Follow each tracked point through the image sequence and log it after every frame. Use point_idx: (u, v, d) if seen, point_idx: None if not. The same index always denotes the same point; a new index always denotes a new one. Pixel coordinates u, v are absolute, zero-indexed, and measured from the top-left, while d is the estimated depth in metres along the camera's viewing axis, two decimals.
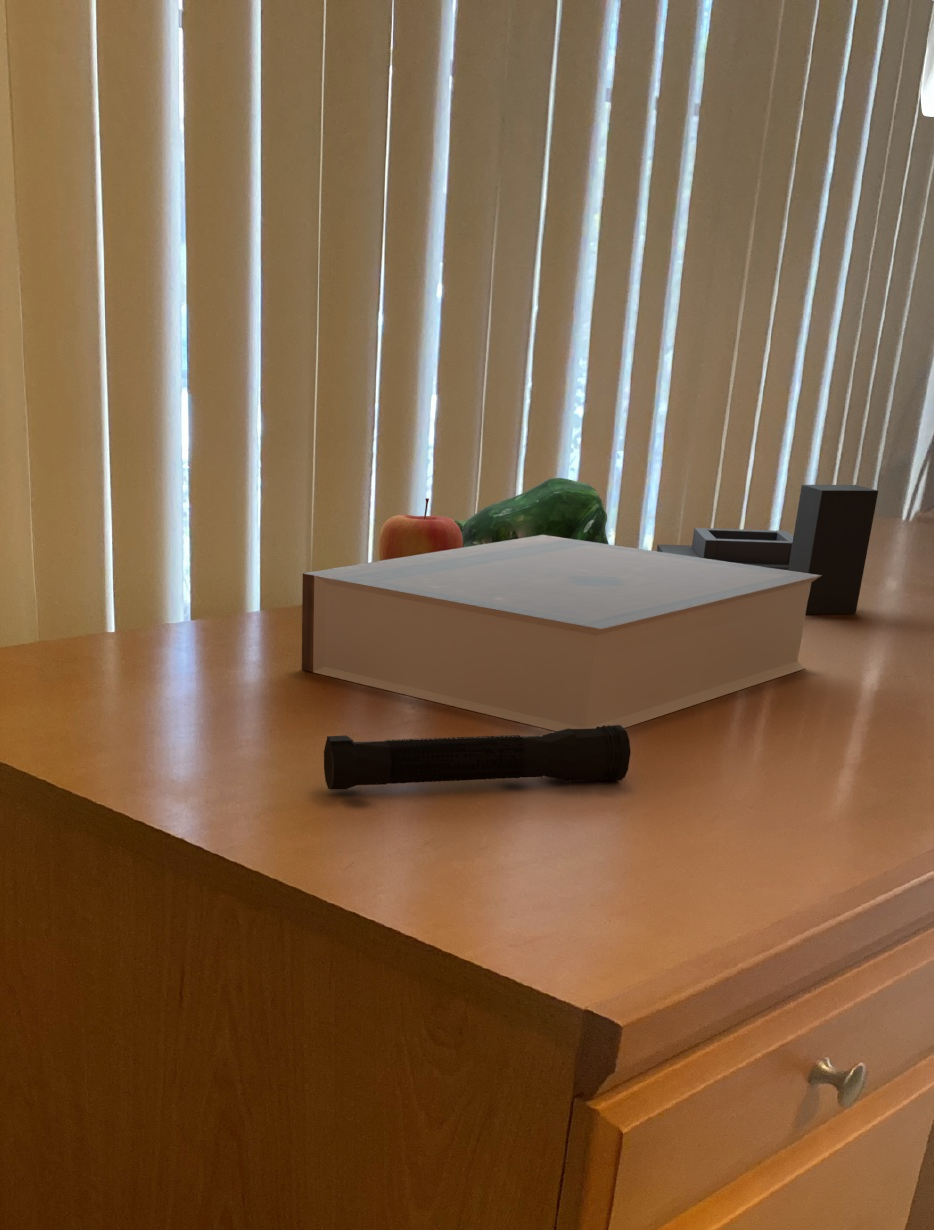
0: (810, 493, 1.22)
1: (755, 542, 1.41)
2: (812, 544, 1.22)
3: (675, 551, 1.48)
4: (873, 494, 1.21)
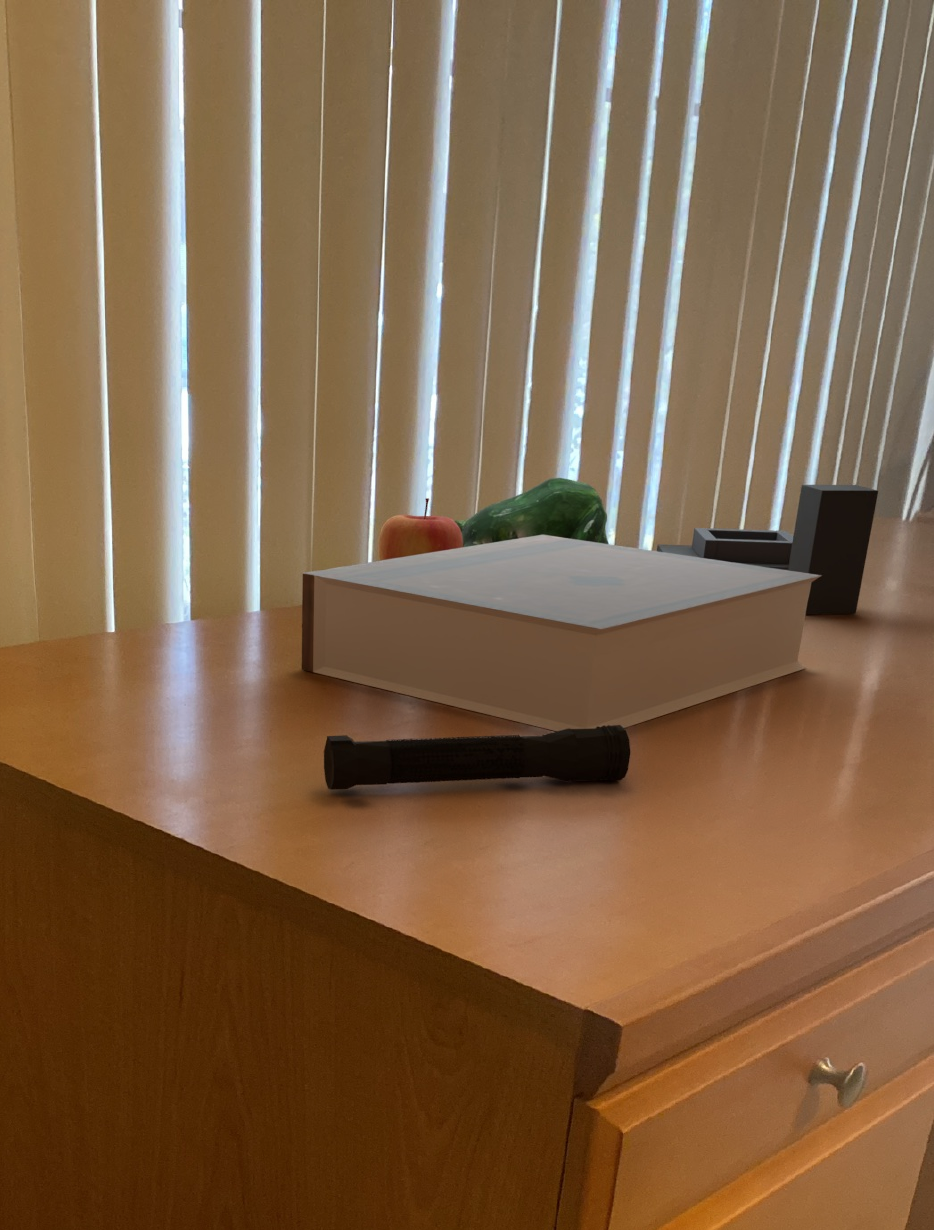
0: (810, 493, 1.22)
1: (755, 542, 1.41)
2: (812, 544, 1.22)
3: (675, 551, 1.48)
4: (873, 494, 1.21)
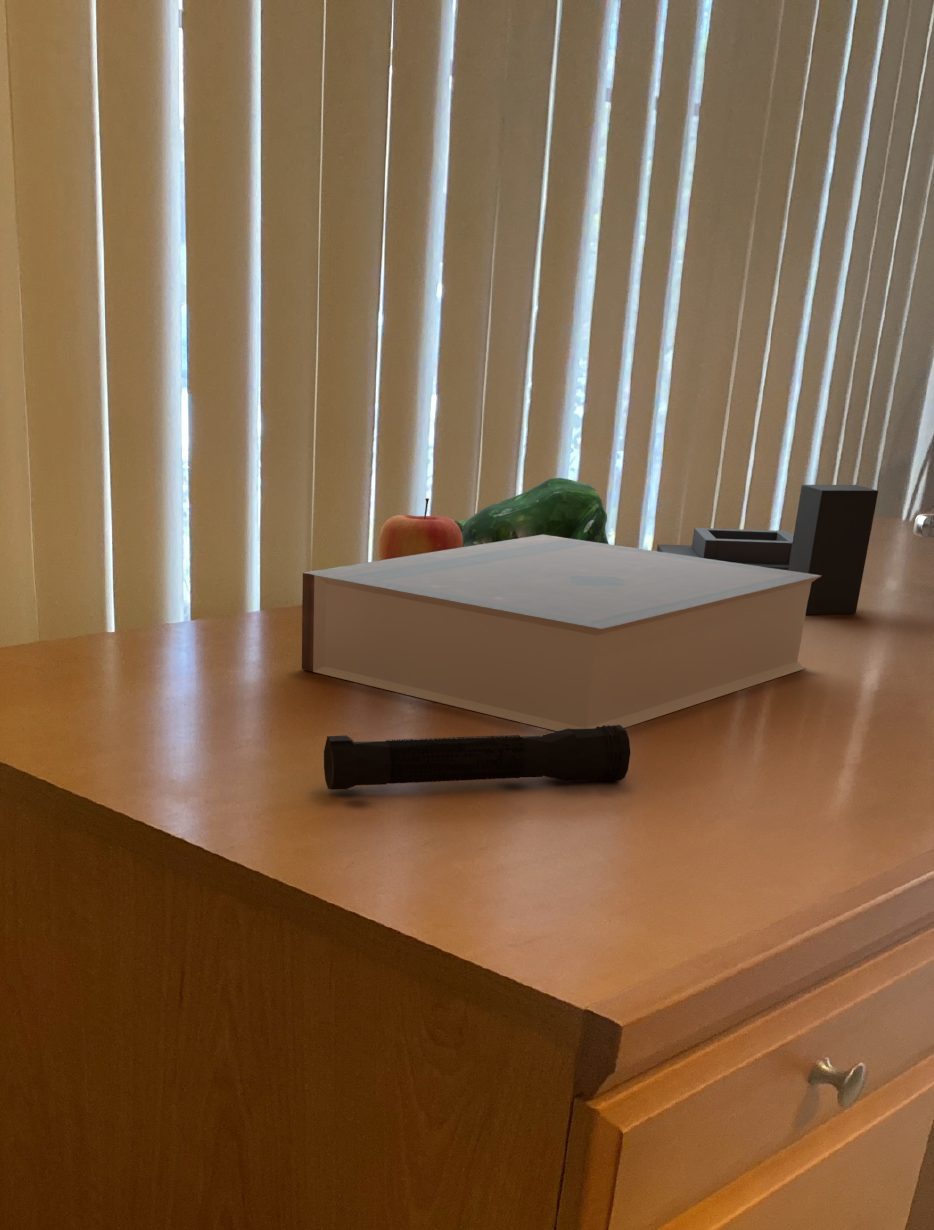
0: (810, 493, 1.22)
1: (755, 542, 1.41)
2: (812, 544, 1.22)
3: (675, 551, 1.48)
4: (873, 494, 1.21)
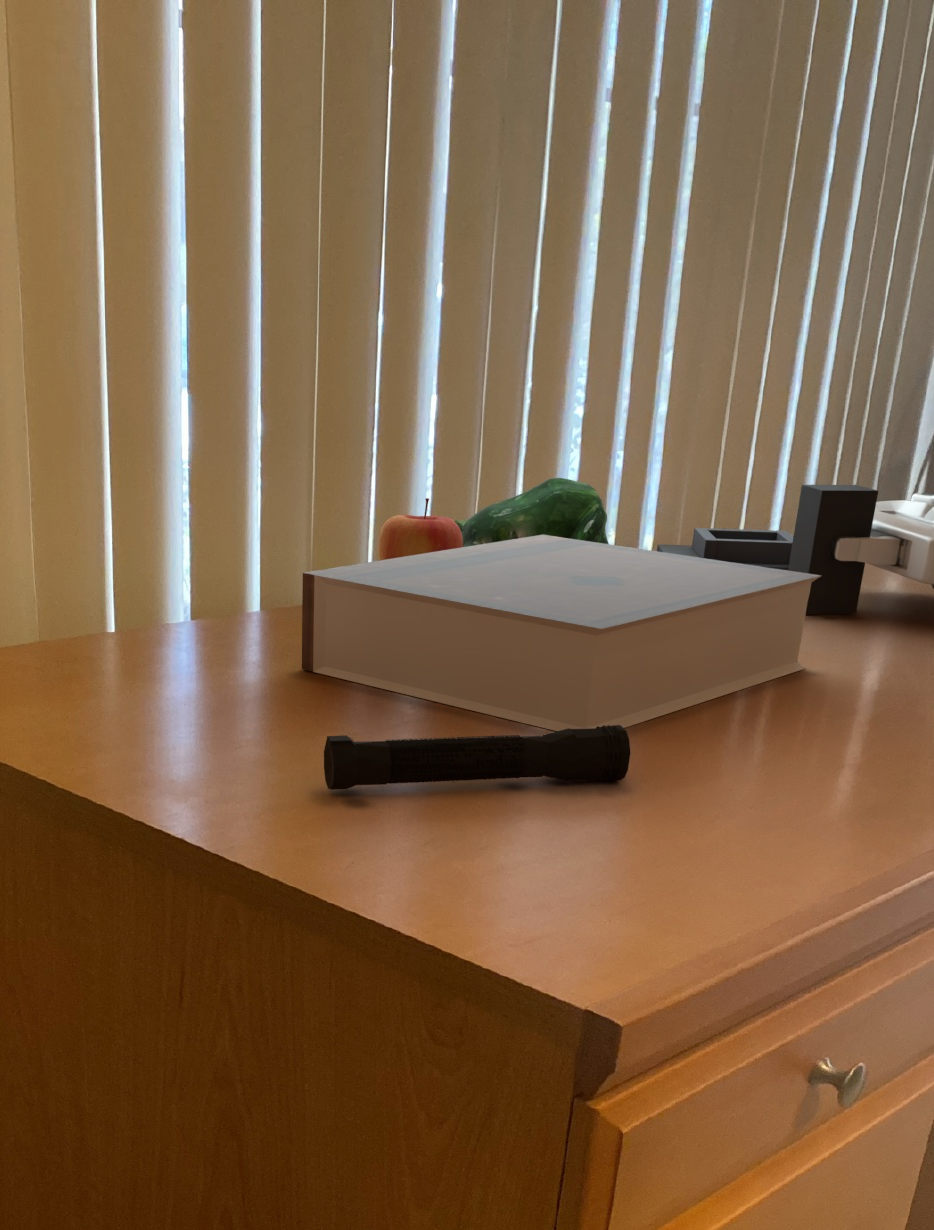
0: (810, 493, 1.22)
1: (755, 542, 1.41)
2: (812, 544, 1.22)
3: (675, 551, 1.48)
4: (873, 494, 1.21)
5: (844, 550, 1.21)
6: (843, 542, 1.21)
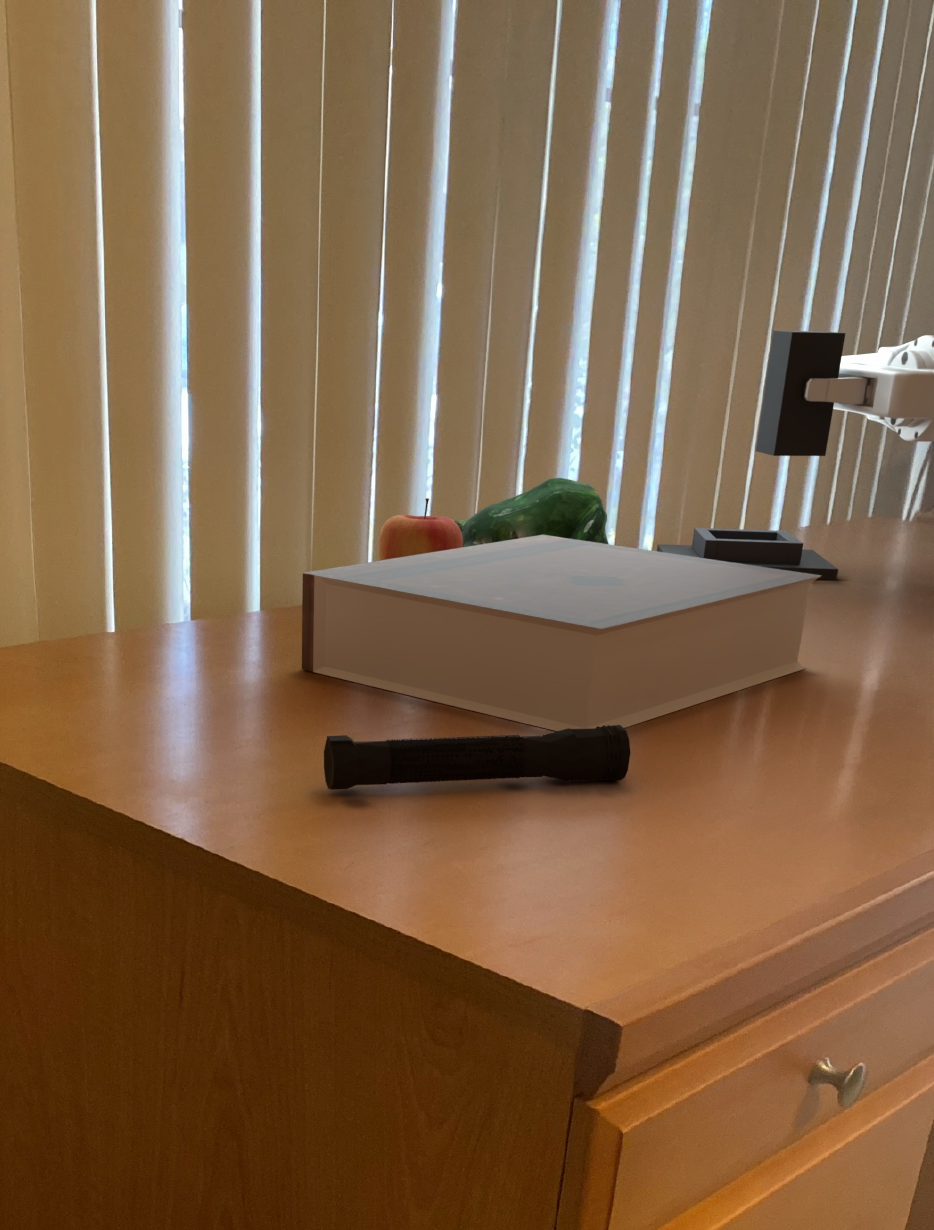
0: (781, 337, 1.28)
1: (755, 542, 1.41)
2: (783, 386, 1.28)
3: (675, 551, 1.48)
4: (841, 337, 1.27)
5: (814, 390, 1.27)
6: (812, 382, 1.27)
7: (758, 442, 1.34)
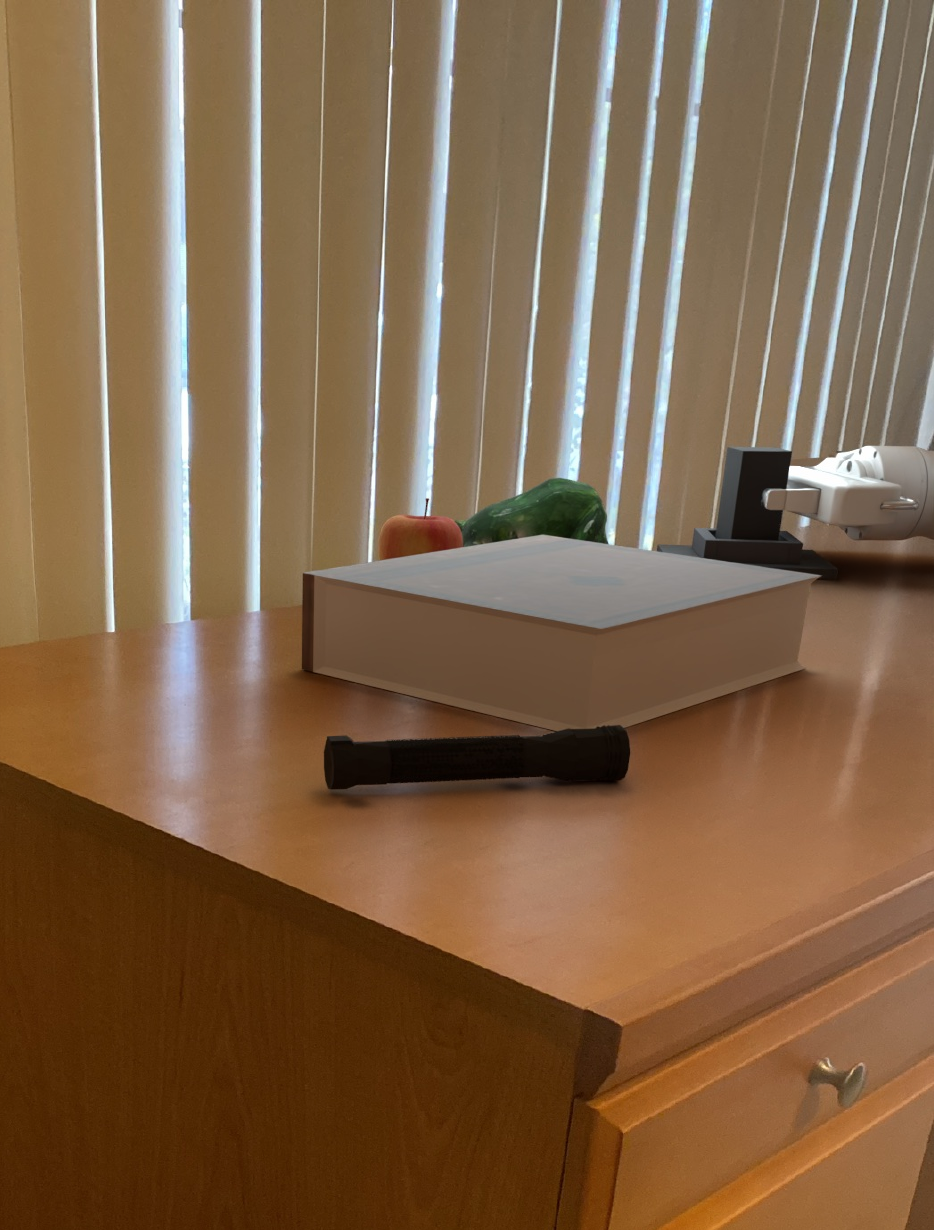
0: (734, 453, 1.41)
1: (755, 542, 1.41)
2: (735, 498, 1.41)
3: (675, 551, 1.48)
4: (788, 454, 1.40)
5: (773, 500, 1.38)
6: (772, 493, 1.38)
7: None
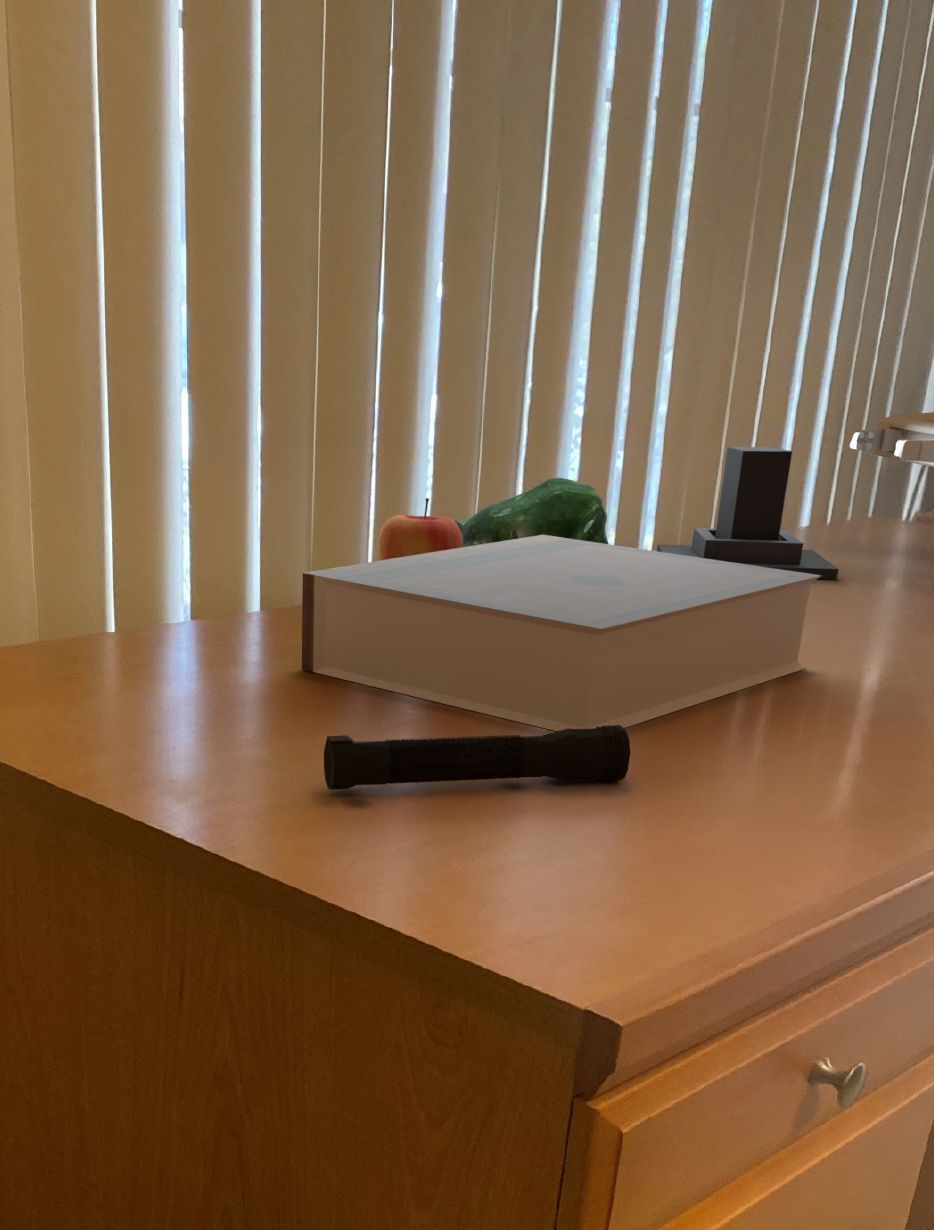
0: (734, 453, 1.41)
1: (755, 542, 1.41)
2: (735, 498, 1.41)
3: (675, 551, 1.48)
4: (788, 454, 1.40)
5: (907, 450, 1.38)
6: (907, 443, 1.38)
7: None
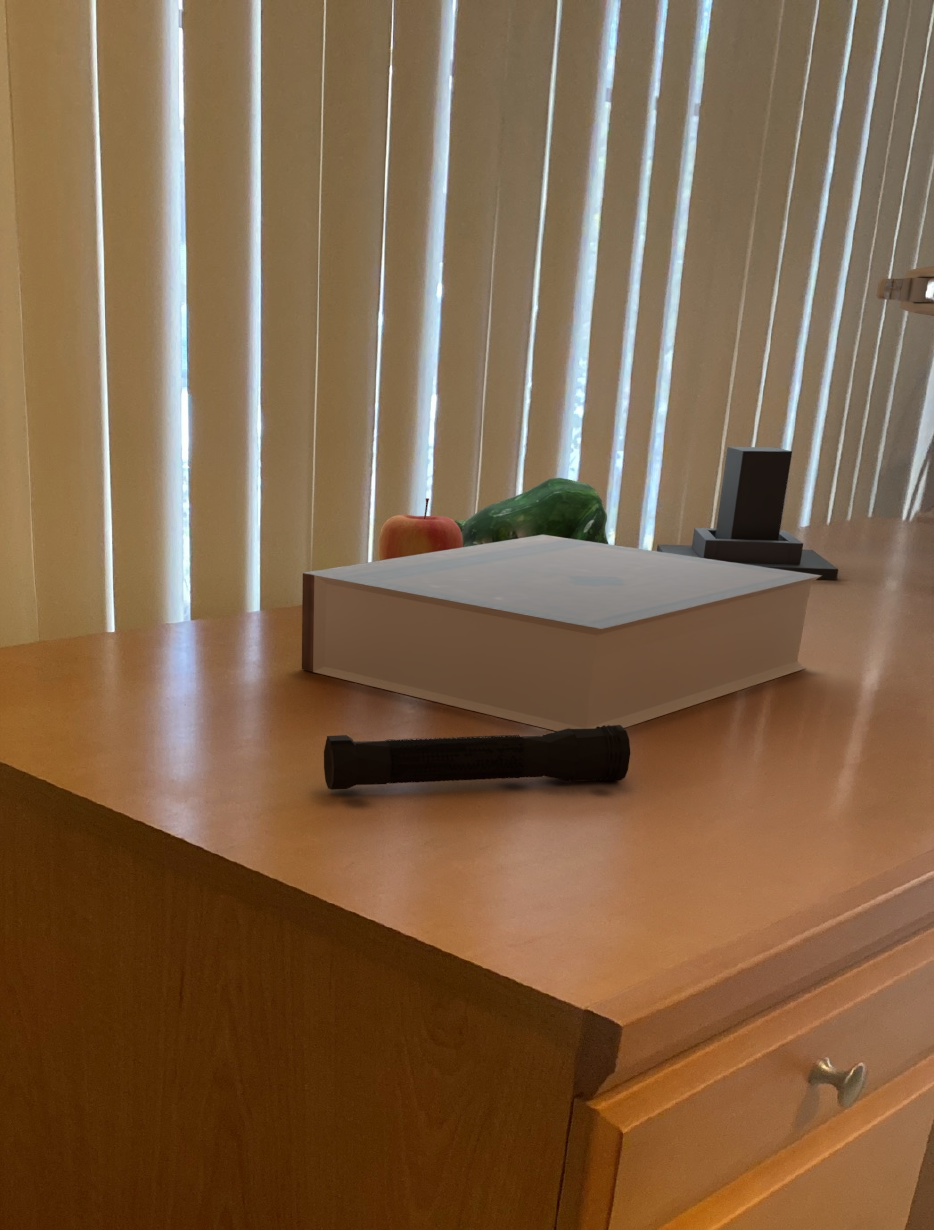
0: (734, 453, 1.41)
1: (755, 542, 1.41)
2: (735, 498, 1.41)
3: (675, 551, 1.48)
4: (788, 454, 1.40)
5: None
6: None
7: None
